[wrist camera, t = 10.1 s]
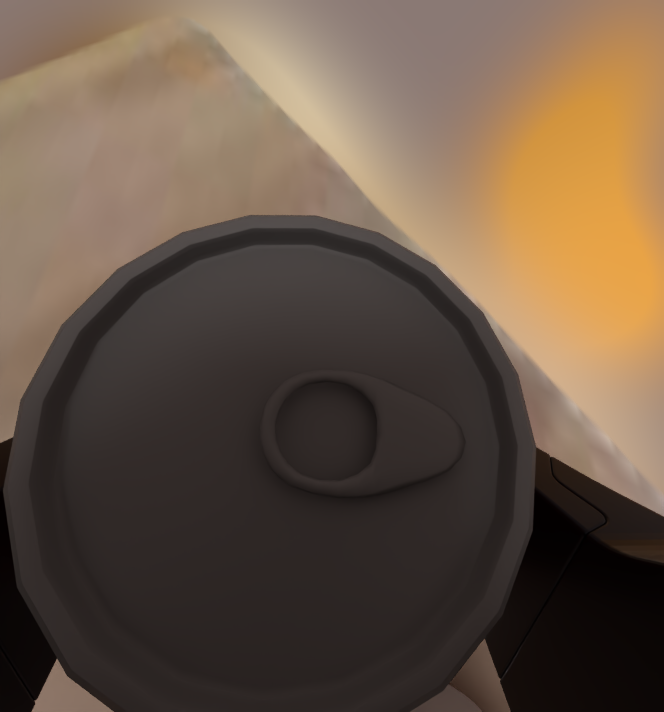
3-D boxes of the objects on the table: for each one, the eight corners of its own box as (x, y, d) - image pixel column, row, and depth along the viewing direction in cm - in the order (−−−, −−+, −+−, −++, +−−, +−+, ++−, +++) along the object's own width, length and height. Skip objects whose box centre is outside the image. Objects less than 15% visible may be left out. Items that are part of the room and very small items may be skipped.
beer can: (365, 551, 14) (646, 864, 3) (199, 540, 14) (-245, 862, 2) (372, 392, 16) (550, 212, 5) (228, 378, 16) (65, 141, 5)
